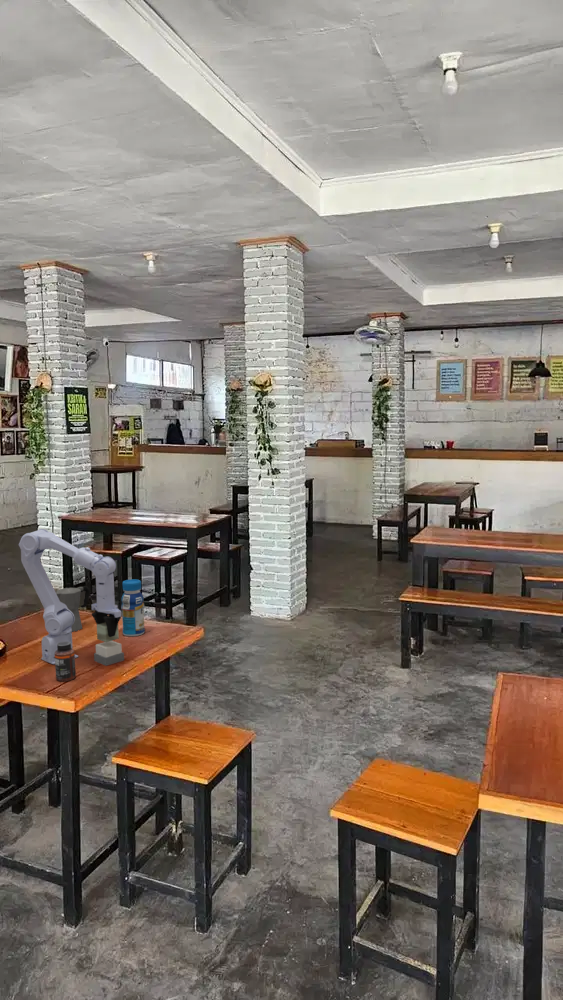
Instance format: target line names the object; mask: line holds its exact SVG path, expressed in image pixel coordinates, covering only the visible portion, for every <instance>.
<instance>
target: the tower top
mask: <svg viewBox="0 0 563 1000" xmlns="http://www.w3.org/2000/svg"><path fill="white" fill-rule="evenodd" d="M122 652H123V651H122V643H120V642H117V641H115V640H112V641H109V642H104V641H102V642H101V643H97V644H95V653H96V654H99V655H101V656H104V657H109V656H113V655H116V654H119V653H122Z"/></svg>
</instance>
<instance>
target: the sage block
mask: <svg viewBox="0 0 563 1000" xmlns="http://www.w3.org/2000/svg"><path fill="white" fill-rule="evenodd" d="M119 634H120V633H119V624H118V625H117V629H116V633H115V636H112V637H109V636H108V631H107V625H106V622H105V623H101V624H96V637H97V638H96V639H97V640H98V641H101V642H109V641H115V640H119V639H120V637H119V636H120V635H119Z"/></svg>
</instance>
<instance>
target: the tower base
mask: <svg viewBox="0 0 563 1000" xmlns="http://www.w3.org/2000/svg"><path fill="white" fill-rule="evenodd" d="M93 656H94V657H93V661H94V662H96V663H98V664H101V665H103V666H106V667H107V666H110V665H113V664H116V663H120V662H123V661H125V652H123V651H122V653H119V654H116V655H113V656H109V657H104V656H101V655H99V654H96V652H94V653H93Z"/></svg>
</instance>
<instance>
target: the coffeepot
mask: <svg viewBox="0 0 563 1000" xmlns="http://www.w3.org/2000/svg"><path fill="white" fill-rule="evenodd" d="M65 584H66V587H65V588H60V589H58V590H56V591H55V592H56V594H57V596H58V598H59V600H60V602H62V603H63V604H65V605H66V606H67V608H68V609H69V610H70V611H71V612H72V613H73V614H74V617H75V621H74V624H73V625H72V633H74V631H75V632H78V630H79V631H81V630H82V629H83V625H82V621H81V615H80V611H79V608H80V607H81V608H86V607H87V605H88V601H89V597H90V594H91V589H90V588H89V587H88V586H87V585H84V586H79V587H71V583H70V582H67V583H65ZM83 592H85V594H84V599H83V604H82V605H80V603H81V593H83ZM80 629H81V630H80Z"/></svg>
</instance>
